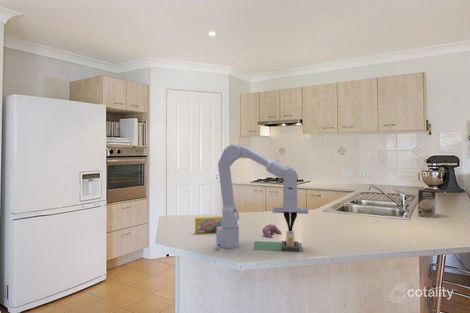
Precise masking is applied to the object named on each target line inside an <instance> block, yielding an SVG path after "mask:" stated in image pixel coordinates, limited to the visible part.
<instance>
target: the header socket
mask: <svg viewBox="0 0 470 313" xmlns="http://www.w3.org/2000/svg"><path fill="white" fill-rule="evenodd" d="M281 242H282V251H281V252H285V251H288V252H290V253H300V252H299V245H298V243H299V241H298V240H297V241H296V240H294V246H295V247H285V245H286V240H281ZM288 252H287V253H288Z"/></svg>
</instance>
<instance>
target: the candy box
mask: <svg viewBox="0 0 470 313" xmlns="http://www.w3.org/2000/svg"><path fill="white" fill-rule="evenodd" d="M222 216H223V215H222ZM222 216H202V217H201V216H199V217H197V216H196V217H195V218H194V219H195V220H194V223H195V225H194V229H195V231H194V232H195V233H194V234H195V235H208V234H209V235H210V234H213V235H214V234H216V232H217V227H221V226H222V223H221V219H222Z"/></svg>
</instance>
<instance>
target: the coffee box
mask: <svg viewBox="0 0 470 313" xmlns="http://www.w3.org/2000/svg"><path fill="white" fill-rule="evenodd" d="M417 196H418V197H417V198H418V200H417V217H421V218H423V217H424V218H429V219H430V218H431V219H435V218H436V190H434V189H433V190H431V189H418V194H417Z"/></svg>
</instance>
